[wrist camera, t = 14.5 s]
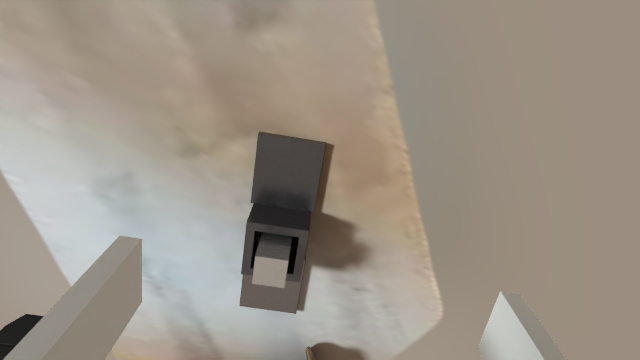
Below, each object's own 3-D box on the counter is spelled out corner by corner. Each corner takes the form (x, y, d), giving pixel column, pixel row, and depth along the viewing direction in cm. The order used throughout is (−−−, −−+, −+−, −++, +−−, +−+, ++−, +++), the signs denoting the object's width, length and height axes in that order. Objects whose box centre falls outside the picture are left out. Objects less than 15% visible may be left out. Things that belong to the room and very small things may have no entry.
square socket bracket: (259, 131, 48) (251, 146, 43) (325, 142, 49) (325, 158, 43) (240, 301, 58) (231, 331, 52) (296, 308, 58) (293, 339, 52)
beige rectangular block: (267, 213, 52) (255, 256, 43) (295, 218, 53) (288, 260, 43) (264, 237, 54) (251, 283, 44) (291, 241, 54) (284, 288, 45)
